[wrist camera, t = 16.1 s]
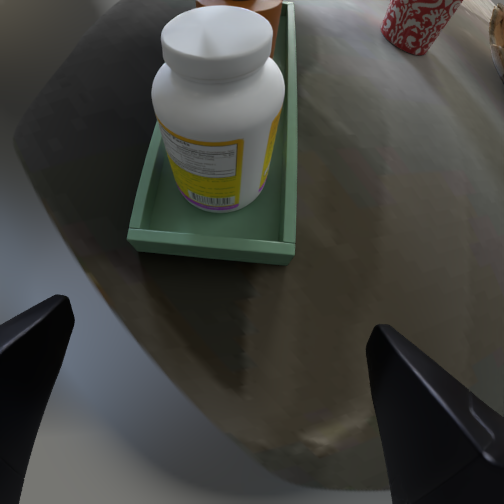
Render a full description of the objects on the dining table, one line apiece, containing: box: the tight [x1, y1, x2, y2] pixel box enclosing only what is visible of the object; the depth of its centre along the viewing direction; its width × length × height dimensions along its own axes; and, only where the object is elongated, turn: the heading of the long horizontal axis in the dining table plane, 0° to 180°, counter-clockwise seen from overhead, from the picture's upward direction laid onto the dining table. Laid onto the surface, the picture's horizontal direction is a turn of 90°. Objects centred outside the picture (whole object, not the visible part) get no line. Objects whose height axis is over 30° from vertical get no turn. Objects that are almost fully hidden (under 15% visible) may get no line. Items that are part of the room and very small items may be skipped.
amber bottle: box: [196, 0, 283, 60], centre depth 19 cm, size 6×6×13 cm
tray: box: [127, 1, 297, 266], centre depth 25 cm, size 32×11×3 cm, turn 176°
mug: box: [381, 0, 463, 55], centre depth 26 cm, size 13×9×14 cm
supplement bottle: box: [152, 5, 285, 213], centre depth 16 cm, size 7×7×13 cm
